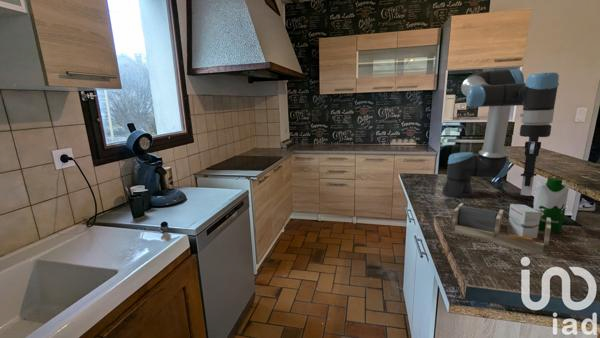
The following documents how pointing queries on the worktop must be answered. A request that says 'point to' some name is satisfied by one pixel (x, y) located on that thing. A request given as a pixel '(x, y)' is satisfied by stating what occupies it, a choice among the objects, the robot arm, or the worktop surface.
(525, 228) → the ink box
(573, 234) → the worktop surface
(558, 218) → the milk carton
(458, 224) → the rack
